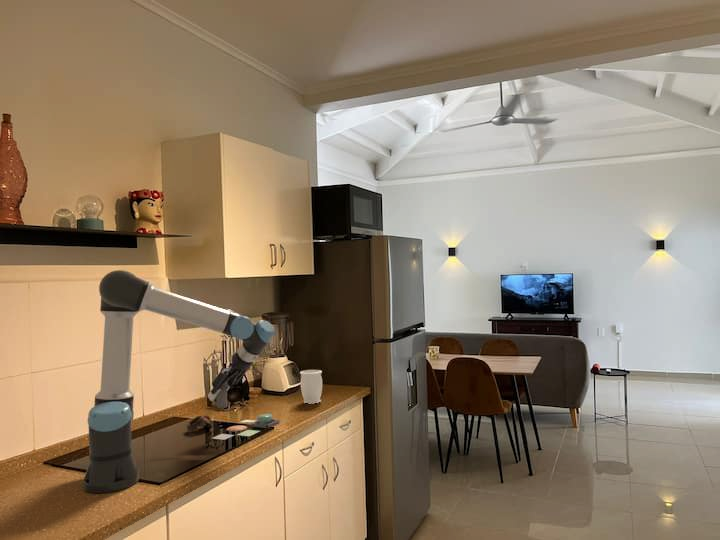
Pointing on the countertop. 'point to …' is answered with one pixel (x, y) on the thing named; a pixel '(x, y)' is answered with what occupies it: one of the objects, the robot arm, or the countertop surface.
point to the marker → (222, 396)
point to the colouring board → (247, 432)
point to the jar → (311, 386)
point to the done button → (264, 418)
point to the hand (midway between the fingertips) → (214, 396)
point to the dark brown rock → (200, 423)
